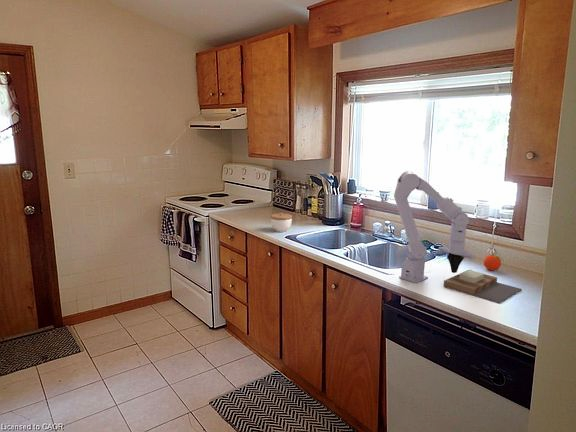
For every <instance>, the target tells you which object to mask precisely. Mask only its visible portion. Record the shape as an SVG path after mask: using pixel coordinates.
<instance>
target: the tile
mask: <svg viewBox="0 0 576 432" xmlns="http://www.w3.org/2000/svg"><path fill="white" fill-rule="evenodd" d="M467 270H468V271H467ZM467 270H465V271H466V272H465V271H463V272H464V273H462V272H460V273H461V274H460V273H459V274H460V279H461V280H465V281H469V282H472V283H476V282H478V281H480V280H482V279H484V274H485V273H482V272H478V271H477V270H476V271H474V270H471V269H467Z"/></svg>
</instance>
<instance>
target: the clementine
mask: <svg viewBox="0 0 576 432" xmlns="http://www.w3.org/2000/svg"><path fill="white" fill-rule="evenodd" d="M501 260H502V261H504V259H503V258H502V257H501V256H498V255H495V254H489V255H486V257H485V258H484V260H483V265H484V267H485V268H486V269H487V270H488V271H491V272H493V271H498V270H499V269H500V268H501V266H502V261H501Z"/></svg>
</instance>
